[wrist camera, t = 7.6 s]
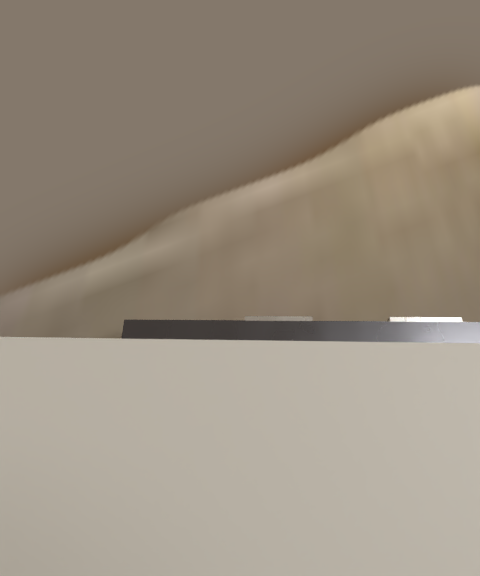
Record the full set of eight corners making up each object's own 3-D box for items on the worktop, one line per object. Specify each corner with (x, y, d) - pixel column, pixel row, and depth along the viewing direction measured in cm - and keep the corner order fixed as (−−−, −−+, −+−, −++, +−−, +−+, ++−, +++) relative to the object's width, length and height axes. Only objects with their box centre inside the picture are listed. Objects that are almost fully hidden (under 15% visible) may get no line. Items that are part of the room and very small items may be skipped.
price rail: (472, 366, 18) (507, 349, 15) (144, 361, 19) (120, 344, 16) (467, 336, 18) (500, 314, 15) (147, 332, 20) (125, 312, 17)
